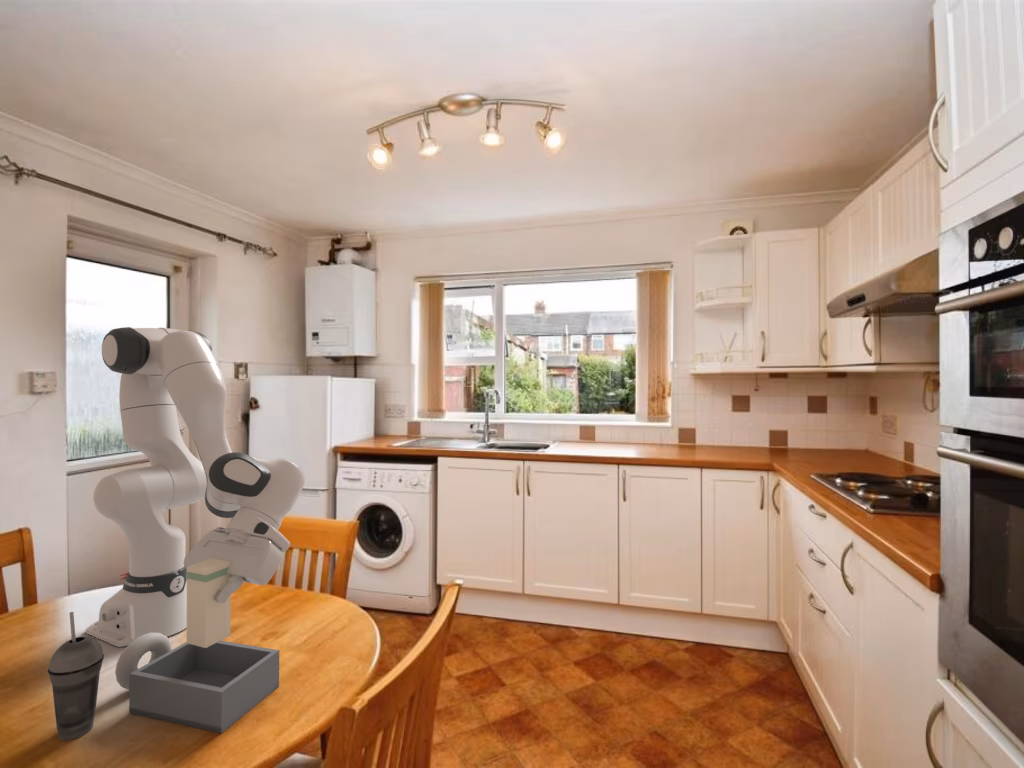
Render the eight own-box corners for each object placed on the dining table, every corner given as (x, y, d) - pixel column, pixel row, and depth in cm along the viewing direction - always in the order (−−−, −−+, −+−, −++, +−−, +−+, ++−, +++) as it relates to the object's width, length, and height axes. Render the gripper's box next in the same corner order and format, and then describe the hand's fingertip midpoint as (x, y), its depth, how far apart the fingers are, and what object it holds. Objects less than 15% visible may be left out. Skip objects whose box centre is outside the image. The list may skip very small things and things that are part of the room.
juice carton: (185, 643, 94) (185, 566, 94) (211, 630, 99) (211, 557, 99) (205, 648, 92) (205, 570, 92) (231, 635, 97) (231, 561, 97)
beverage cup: (70, 749, 82) (72, 625, 82) (34, 742, 84) (36, 620, 84) (114, 720, 89) (115, 605, 89) (80, 714, 91) (81, 601, 91)
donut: (122, 703, 94) (123, 649, 94) (110, 699, 95) (110, 645, 95) (175, 674, 103) (175, 625, 103) (163, 670, 105) (164, 622, 104)
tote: (129, 712, 91) (129, 673, 91) (196, 670, 105) (196, 636, 105) (221, 733, 86) (221, 692, 86) (279, 686, 100) (279, 650, 100)
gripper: (204, 518, 106) (156, 582, 97) (279, 529, 98) (234, 600, 89) (223, 534, 110) (179, 597, 101) (297, 545, 102) (256, 614, 93)
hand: (205, 598), depth 95 cm, fingers closed on juice carton, 5 cm apart
